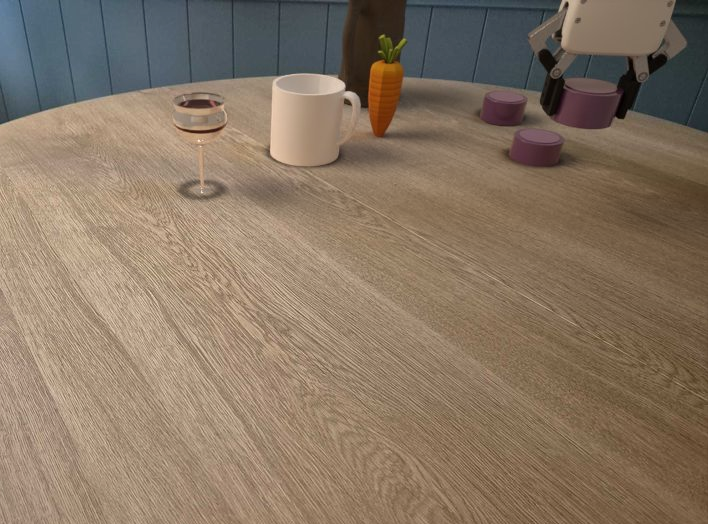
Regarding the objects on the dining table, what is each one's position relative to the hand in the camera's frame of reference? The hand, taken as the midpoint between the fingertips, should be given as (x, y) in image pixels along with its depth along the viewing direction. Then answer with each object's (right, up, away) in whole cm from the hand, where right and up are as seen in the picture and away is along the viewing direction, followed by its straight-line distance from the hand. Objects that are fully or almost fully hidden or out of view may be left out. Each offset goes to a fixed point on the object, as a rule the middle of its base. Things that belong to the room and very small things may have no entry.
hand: (582, 112), depth 75 cm
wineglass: (-44, -7, +12) cm, 46 cm away
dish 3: (0, -1, 0) cm, 1 cm away
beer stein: (-17, +17, +42) cm, 49 cm away
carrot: (-17, +6, +28) cm, 34 cm away
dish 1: (+5, +12, +36) cm, 38 cm away
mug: (-28, +1, +22) cm, 36 cm away
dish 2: (+4, +1, +22) cm, 22 cm away
